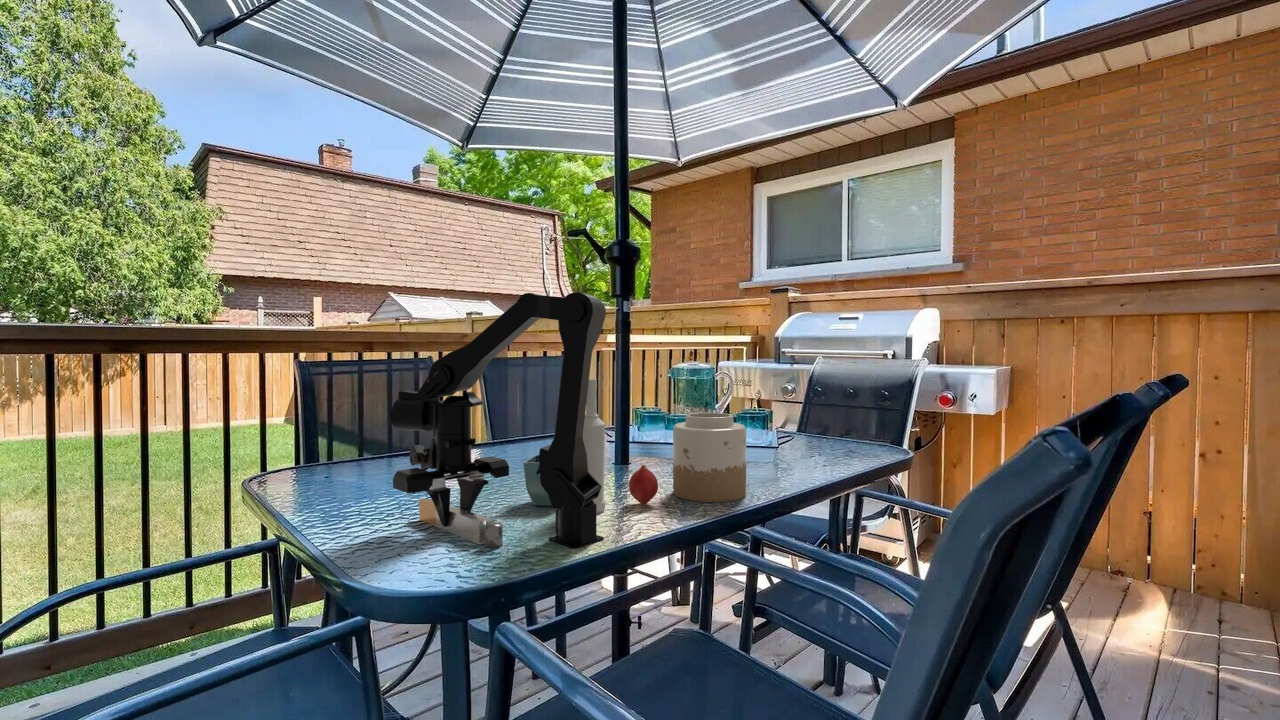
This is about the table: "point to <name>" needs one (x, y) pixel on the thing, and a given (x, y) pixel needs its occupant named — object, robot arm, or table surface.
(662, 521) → the table surface
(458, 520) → the tong arm
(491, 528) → the base
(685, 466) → the vase
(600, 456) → the bottle
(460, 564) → the table surface
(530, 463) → the flower pot
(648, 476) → the onion
